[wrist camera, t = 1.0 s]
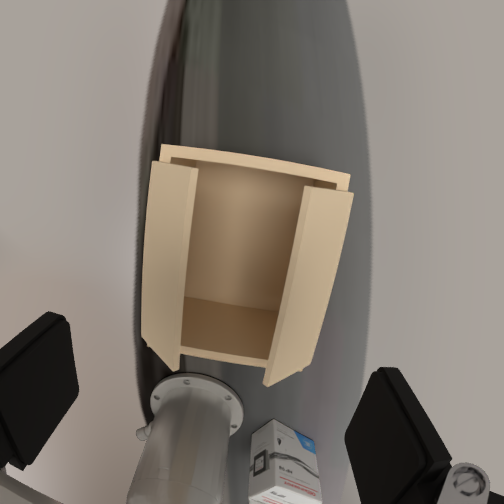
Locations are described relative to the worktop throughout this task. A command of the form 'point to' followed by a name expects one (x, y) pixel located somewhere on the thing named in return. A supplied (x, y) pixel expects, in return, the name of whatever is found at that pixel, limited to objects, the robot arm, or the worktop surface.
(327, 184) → the carton
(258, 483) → the ink box
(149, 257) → the flap
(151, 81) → the worktop surface
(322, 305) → the flap
